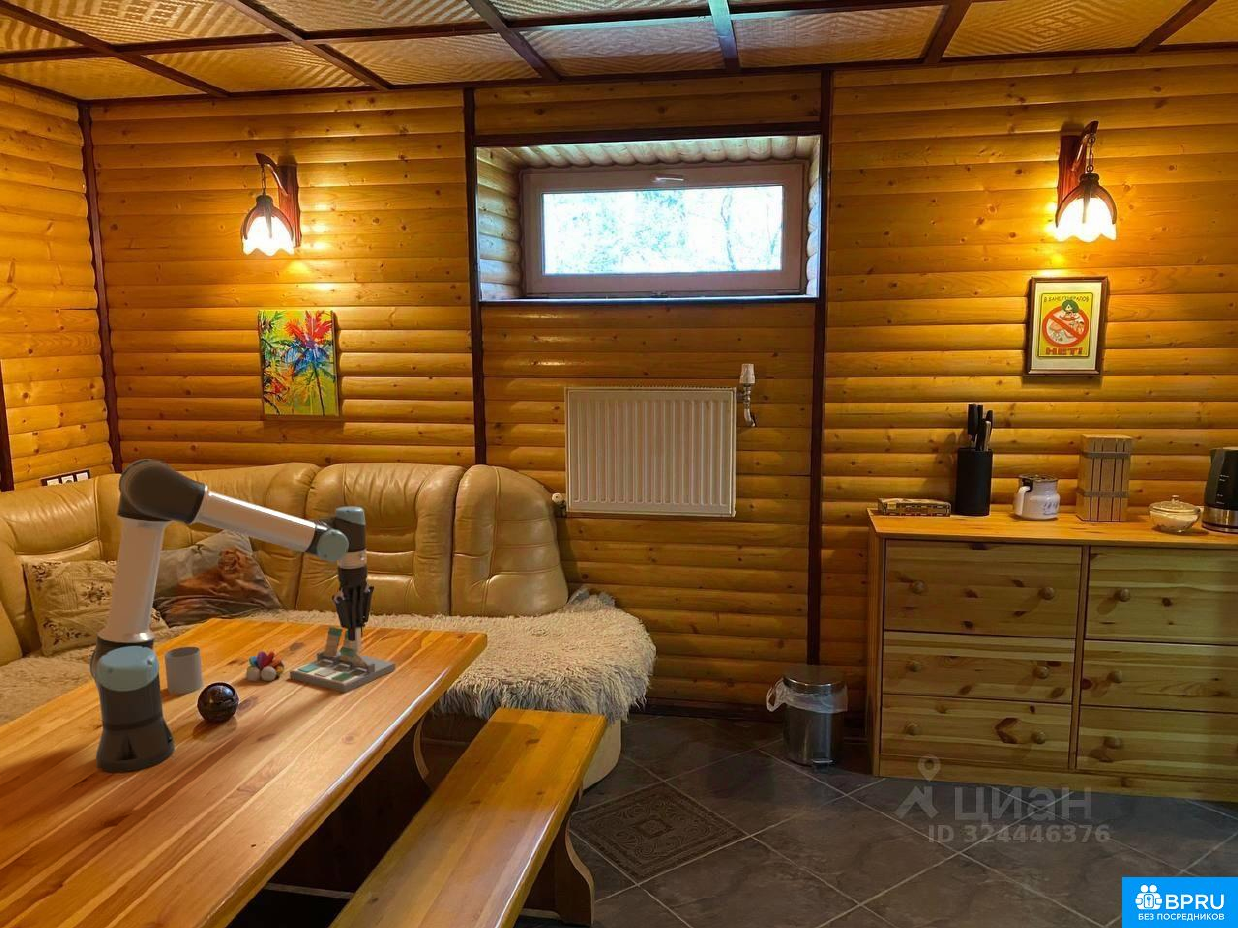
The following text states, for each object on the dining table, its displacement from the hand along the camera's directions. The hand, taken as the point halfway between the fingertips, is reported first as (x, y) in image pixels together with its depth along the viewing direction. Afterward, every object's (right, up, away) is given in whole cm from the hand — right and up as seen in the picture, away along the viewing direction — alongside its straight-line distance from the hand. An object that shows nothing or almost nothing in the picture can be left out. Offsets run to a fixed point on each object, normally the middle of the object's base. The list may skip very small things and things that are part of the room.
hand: (356, 650), depth 234 cm
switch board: (-5, -7, +5) cm, 10 cm away
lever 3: (+1, -5, +2) cm, 5 cm away
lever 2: (-5, -4, +5) cm, 8 cm away
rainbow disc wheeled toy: (-26, -8, +4) cm, 27 cm away
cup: (-44, -9, -3) cm, 45 cm away
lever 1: (-10, -4, +9) cm, 14 cm away
